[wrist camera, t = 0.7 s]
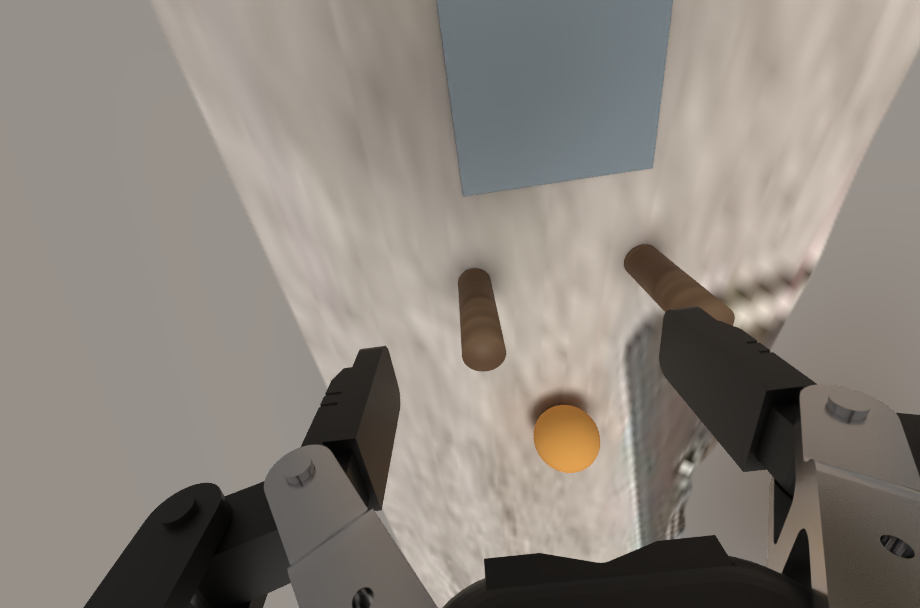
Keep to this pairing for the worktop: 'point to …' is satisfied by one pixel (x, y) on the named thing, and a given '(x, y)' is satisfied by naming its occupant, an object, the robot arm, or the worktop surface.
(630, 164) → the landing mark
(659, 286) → the post
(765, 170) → the worktop surface
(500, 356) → the post
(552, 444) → the ball
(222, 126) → the worktop surface
